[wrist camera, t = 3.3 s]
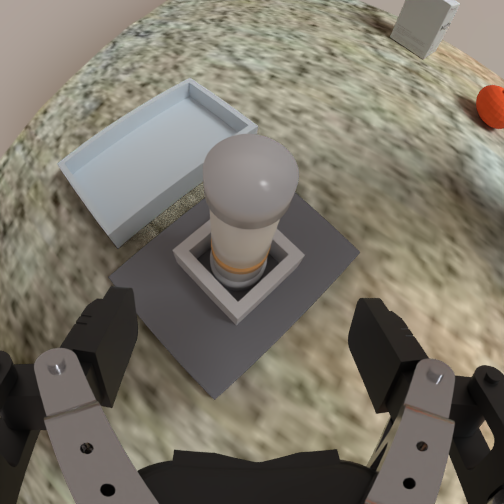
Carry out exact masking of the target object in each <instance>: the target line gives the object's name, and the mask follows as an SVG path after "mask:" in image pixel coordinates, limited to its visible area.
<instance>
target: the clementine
mask: <svg viewBox="0 0 504 504" xmlns="http://www.w3.org/2000/svg"><path fill="white" fill-rule="evenodd" d="M476 107H477V111H478V113H479V116H480V117H481V119H482V120H483V121H484V122H485V123H486V124H487V125H489V126H490V127H493V128H496V129H503V128H504V88H502V87H499V86H495V85H490V86H486V87H484V88H483V89H482V90H481V91H480V92H479V94H478V96H477V100H476Z"/></svg>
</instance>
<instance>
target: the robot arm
mask: <svg viewBox="0 0 504 504" xmlns="http://www.w3.org/2000/svg"><path fill="white" fill-rule="evenodd" d="M137 336H138V322H137V314H136V307H135V299H134V292H133V289H132V288H130V287H117V286H111V287H110V288H109V290H108V292H107V293H106V295H105V296H104V298H103V299H96V300H94V301H93V302H92V303H90V304H89V305H87V306H86V308H85V309H84V311H83V312H82V314H81V317H79V318H78V320H77V321H76V324H74V326H73V328H72V329H71V331H70V332H69V334H68V335H67V337H66V338H65V340H64V342H63V343H62V345H61V346H60V348H54V349H50V350H47V351H45V352H44V353H42V354H41V355H40V356H39V357H38V358H37V359H36V361H35V364H17V365H14V364H13V362H12V359H11V357H10V356H9V354H8V353H6V352H4V351H0V416H1V418H0V504H16V502H17V499H18V495H19V492H20V488H21V485H22V482H23V479H24V475H25V472H26V469H27V466H28V463H29V460H30V457H31V454H32V451H33V449H34V446H35V443H36V440H37V438H38V435H39V432H40V430H47V432H48V435H49V438H50V441H51V444H52V447H53V449H54V452H55V455H56V458H57V460H58V463H59V466H60V468H61V471H62V473H63V476H64V478H65V480H66V483H67V485H68V487H69V490H70V492H71V494H72V496H73V498H74V501H75V503H76V504H435V502H436V498H437V495H438V492H439V489H440V485H441V482H442V478H443V475H444V471H445V467H446V463H447V459H448V455H449V456H450V458H451V461H452V463H453V466H454V468H455V471H456V473H457V476H458V478H459V481H460V483H461V486H462V489H463V491H464V494H465V497H466V500H467V502H468V504H504V375H503V373H501V372H500V371H499V370H498V369H496V368H494V367H491V366H487V365H483V366H479V367H478V368H477V369H476V370H475V372H474V374H473V376H472V377H464V376H455V374H454V372H453V370H452V369H451V368H450V367H449V366H448V365H447V364H445V363H444V362H442V361H439V360H436V359H429V358H428V356H427V355H426V353H425V352H424V350H423V349H422V347H421V346H420V344H419V343H418V341H417V340H416V338H415V337H414V336H413V334H412V332H411V331H410V330H409V329H408V327H407V325H406V324H405V322H404V321H403V320H402V318H400V317H399V316H398V315H396V314H395V313H394V312H392V311H389V310H388V309H387V307H386V306H385V304H384V303H383V301H382V300H381V299H380V298H360V299H359V300H358V302H357V305H356V309H355V313H354V316H353V320H352V323H351V327H350V331H349V335H348V345H349V349H350V351H351V354H352V356H353V358H354V361H355V363H356V365H357V368H358V370H359V373H360V375H361V377H362V380H363V382H364V385H365V387H366V389H367V392H368V394H369V397H370V399H371V402H372V404H373V407H374V409H375V412H376V414H378V413H385V412H389V413H390V418H389V420H388V421H387V424H386V426H385V428H384V430H383V433H382V435H381V437H380V439H379V442H378V444H377V446H376V448H375V450H374V452H373V454H372V456H371V458H370V460H369V462H368V464H367V466H363V465H361V464H358V463H354V462H351V461H345V460H340V459H339V455H338V451H337V449H334V450H324V451H313V452H299V453H295V454H292V455H288V456H284V457H280V458H276V459H272V460H268V461H264V462H251V461H247V460H242V459H238V458H233V457H229V456H225V455H221V454H217V453H207V452H193V451H181V450H174V455H173V460H172V461H165V462H160V463H156V464H153V465H149V466H147V467H145V468H142V469H140V470H138V471H137V470H136V469H135V467H134V465H133V464H132V462H131V460H130V459H129V457H128V455H127V454H126V452H125V450H124V449H123V447H122V445H121V443H120V442H119V440H118V438H117V436H116V434H115V433H114V431H113V429H112V427H111V425H110V423H109V421H108V419H107V418H106V416H105V414H104V412H103V410H102V408H101V406H104V407H110V408H112V407H113V404H114V401H115V398H116V396H117V393H118V390H119V387H120V384H121V381H122V379H123V376H124V373H125V370H126V367H127V365H128V362H129V359H130V357H131V354H132V351H133V349H134V346H135V343H136V341H137ZM485 420H486V422H487V424H488V426H489V427H490V429H491V431H492V433H493V435H494V439H495V442H494V446H493V449H492V450H491V451H490V449H489V447H488V445H487V443H486V441H485V439H484V437H483V435H482V433H481V431H480V429H479V427H480V426H481V425H482V423H483V422H484V421H485Z"/></svg>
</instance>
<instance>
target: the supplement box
mask: <svg viewBox="0 0 504 504" xmlns="http://www.w3.org/2000/svg"><path fill="white" fill-rule="evenodd" d="M459 6H460V3H459V2H457V1H456V0H405V3H404V6H403V8H402V10H401V13H400V15H399V17H398V19H397V22H396V24H395V26H394V28H393V31H392V33H391V35H390V38H392V39H393V40H395V41H396V42H398V43H399V44H401V45H402V46H404V47H406V48H407V49H408V50H410V51H411V52H413V53H414V54H416V55H417V56H419V57H420V58H422V59H425V58H426V57H427V56H428V55H430V54H432V53H434V52H435V51H436V49H437V47H438V46H439V44H440V42H441V40H442V39H443V37H444V35H445V33H446V31H447V29H448V27H449V25H450V24H451V22H452V20H453V18H454V16H455V14H456V12H457V10H458V8H459Z"/></svg>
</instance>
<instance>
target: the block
mask: <svg viewBox="0 0 504 504" xmlns="http://www.w3.org/2000/svg"><path fill="white" fill-rule="evenodd" d="M210 252H211V224H210V208H209V207H208V205H207V203H206V200H205V198H204V199H203V200H201V201H200V202H199V203H198V204H196V205H195V206H194V207H192V208H191V209H190V210H189V211H187V212H186V213H185V214H183V215H182V216H181V217H180V218H178V219H177V220H176V221H175V222H173V223H172V224H171V225H170V226H168V227H167V228H166V229H165V230H163V231H162V232H161V233H160V234H159V235H157V236H156V237H155V238H154V239H152V240H151V241H150V242H149V243H148V244H146V245H145V246H144V247H143V248H142V249H140V250H139V251H138V252H137V253H136V254H134V255H133V256H132V257H131V258H130V259H129V260H127V261H126V262H125V263H124V264H123V265H122V266H120V267H119V268H118V269H117V270H116V271H115V272H113V273H112V274H111V275H110V276H109V279H110V280H111V281H112V283H113V284H114V285H115V286H117V287H130V288H132V289H133V292H134V299H135V307H136V313H137V315H138V316H139V317H140V318H141V319H142V321H143V322H144V323H145V324H146V325H147V327H148V328H149V329H150V330H151V331H152V333H153V334H154V335H155V336H156V337H157V338H158V340H159V341H160V342H161V343H162V344H163V345H164V346H165V348H166V349H167V350H168V351H169V352H170V353H171V354H172V355H173V357H174V358H175V359H176V360H177V361H178V362H179V363H180V364H181V365H182V366H183V368H184V369H185V370H186V371H187V372H188V373H189V374H190V375H191V376H192V377H193V378H194V379H195V380H196V381H197V382H198V383H199V385H200V386H201V387H202V388H203V389H204V390H205V391H206V392H207V393H208V394H209V395H210V396H211V397H212V398H213V399H214V400H215V399H216V398H217V397H218V396H219V395H221V394H222V393H223V392H224V391H225V390H226V389H227V388H228V387H229V386H230V385H231V384H233V383H234V382H235V381H236V380H237V379H238V378H239V377H240V376H241V375H242V374H243V373H244V372H245V371H246V370H248V369H249V368H250V367H251V366H252V365H253V364H254V363H255V362H256V361H257V360H258V359H259V358H260V357H261V356H262V355H263V354H264V353H265V352H266V351H267V350H268V349H269V348H270V347H271V346H272V345H273V344H274V343H275V342H276V341H277V340H278V339H279V338H280V337H281V336H282V335H283V334H284V333H285V332H286V331H287V330H288V329H289V328H290V327H291V326H292V325H293V324H294V323H295V322H296V321H297V320H298V319H299V318H300V317H301V316H302V315H303V314H304V313H305V312H306V311H307V310H308V309H309V308H310V307H311V306H312V305H313V303H314V302H315V301H316V300H317V299H318V298H319V297H320V296H321V295H322V294H323V293H324V292H325V291H326V290H327V289H328V287H329V286H330V285H331V284H332V283H333V282H334V281H335V280H336V279H337V278H338V277H339V276H340V274H341V273H342V272H343V271H344V270H345V269H346V268H347V267H348V266H349V264H350V263H351V262H352V261H353V260H354V259H355V258H356V257H357V255H358V254H359V253H360V251H359V250H357V249H356V248H355V247H354V246H353V245H352V244H351V243H350V242H349V241H348V240H347V239H346V238H345V237H344V236H343V235H342V234H341V233H340V232H338V231H337V230H336V229H335V228H334V227H333V226H332V225H331V224H330V223H329V222H328V221H327V220H325V219H324V218H323V217H322V216H321V215H320V214H319V213H318V212H317V211H316V210H314V209H313V208H312V207H311V206H310V205H309V204H308V203H307V202H306V201H304V200H303V199H302V198H301V197H300V196H299V195H298V194H297V193H294V195H293V198H292V201H291V203H290V206H289V208H288V210H287V211H286V213H285V214H284V215H283V216H282V217H281V218H280V220H279V223H278V226H277V229H276V232H275V234H274V237H273V240H272V243H271V246H270V250H269V253H268V256H267V264H266V268H265V270H264V273H263V275H262V277H261V279H260V280H259V282H258V283H257V284H256V285H254V286H253V287H251V288H249V289H247V290H243V291H233V290H229V289H226V288H224V287H223V286H222V285H221V284H220V283H219V282H218V281H217V280H216V279H215V278H214V277H213V274H212V271H211V265H210Z"/></svg>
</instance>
